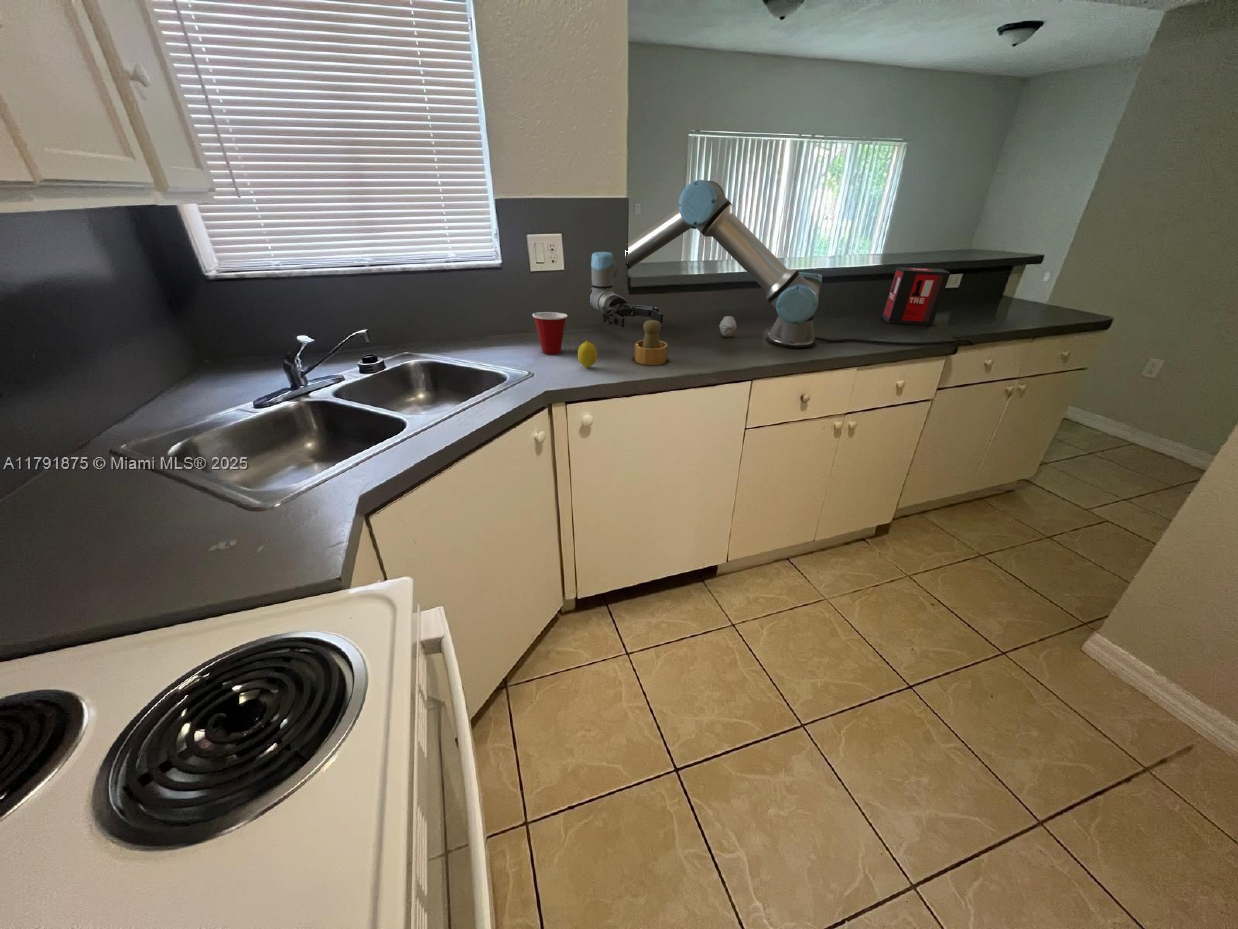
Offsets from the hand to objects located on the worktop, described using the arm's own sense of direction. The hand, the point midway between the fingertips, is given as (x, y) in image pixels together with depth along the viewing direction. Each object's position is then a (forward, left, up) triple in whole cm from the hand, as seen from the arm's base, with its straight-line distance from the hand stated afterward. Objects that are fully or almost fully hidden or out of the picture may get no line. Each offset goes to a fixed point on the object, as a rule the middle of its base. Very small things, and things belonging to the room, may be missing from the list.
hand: (642, 320), depth 150 cm
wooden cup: (-4, +5, -11) cm, 12 cm away
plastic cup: (+28, +5, -11) cm, 31 cm away
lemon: (+13, +17, -11) cm, 24 cm away
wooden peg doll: (-4, +5, -10) cm, 12 cm away
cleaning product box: (-99, -70, -11) cm, 121 cm away
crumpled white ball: (-27, -28, -11) cm, 40 cm away
